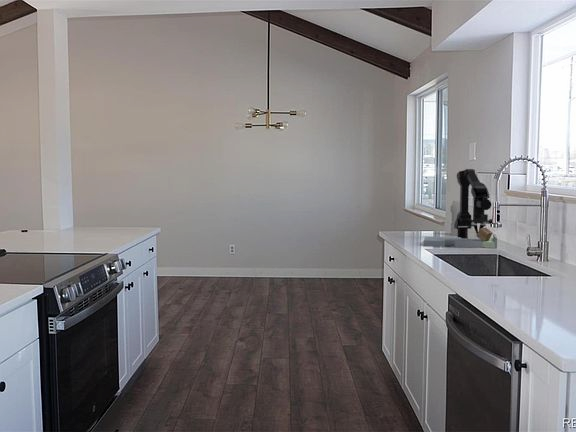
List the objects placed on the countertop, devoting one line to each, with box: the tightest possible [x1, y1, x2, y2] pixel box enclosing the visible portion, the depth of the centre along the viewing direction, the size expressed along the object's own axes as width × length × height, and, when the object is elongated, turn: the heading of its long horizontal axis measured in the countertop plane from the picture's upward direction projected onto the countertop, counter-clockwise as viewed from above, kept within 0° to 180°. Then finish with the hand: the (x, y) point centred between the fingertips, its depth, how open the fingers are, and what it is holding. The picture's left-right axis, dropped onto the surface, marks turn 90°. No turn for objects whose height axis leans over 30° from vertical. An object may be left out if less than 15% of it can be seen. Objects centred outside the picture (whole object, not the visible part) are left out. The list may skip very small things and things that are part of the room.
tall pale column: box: [450, 199, 470, 237], centre depth 335 cm, size 11×4×22 cm, turn 76°
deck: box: [423, 233, 498, 249], centre depth 296 cm, size 18×37×5 cm, turn 72°
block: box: [475, 227, 494, 241], centre depth 288 cm, size 5×5×5 cm
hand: (478, 237), depth 293 cm, fingers closed
